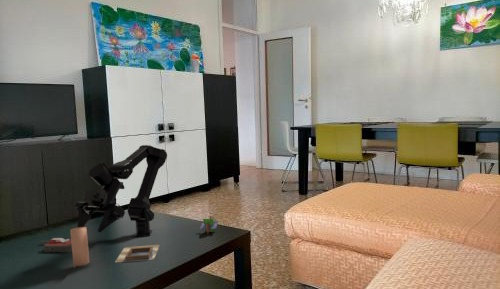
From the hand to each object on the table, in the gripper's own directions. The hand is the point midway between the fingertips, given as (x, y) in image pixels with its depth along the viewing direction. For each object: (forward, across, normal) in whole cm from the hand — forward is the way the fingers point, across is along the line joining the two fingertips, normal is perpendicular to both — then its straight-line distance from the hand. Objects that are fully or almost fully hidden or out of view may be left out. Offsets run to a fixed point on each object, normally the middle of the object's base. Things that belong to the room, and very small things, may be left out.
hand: (88, 230), depth 130 cm
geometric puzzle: (-19, +27, +34) cm, 48 cm away
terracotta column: (+11, 0, +5) cm, 12 cm away
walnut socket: (+2, +16, +11) cm, 20 cm away
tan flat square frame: (+2, +14, +14) cm, 20 cm away
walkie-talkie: (+3, -25, +14) cm, 28 cm away
